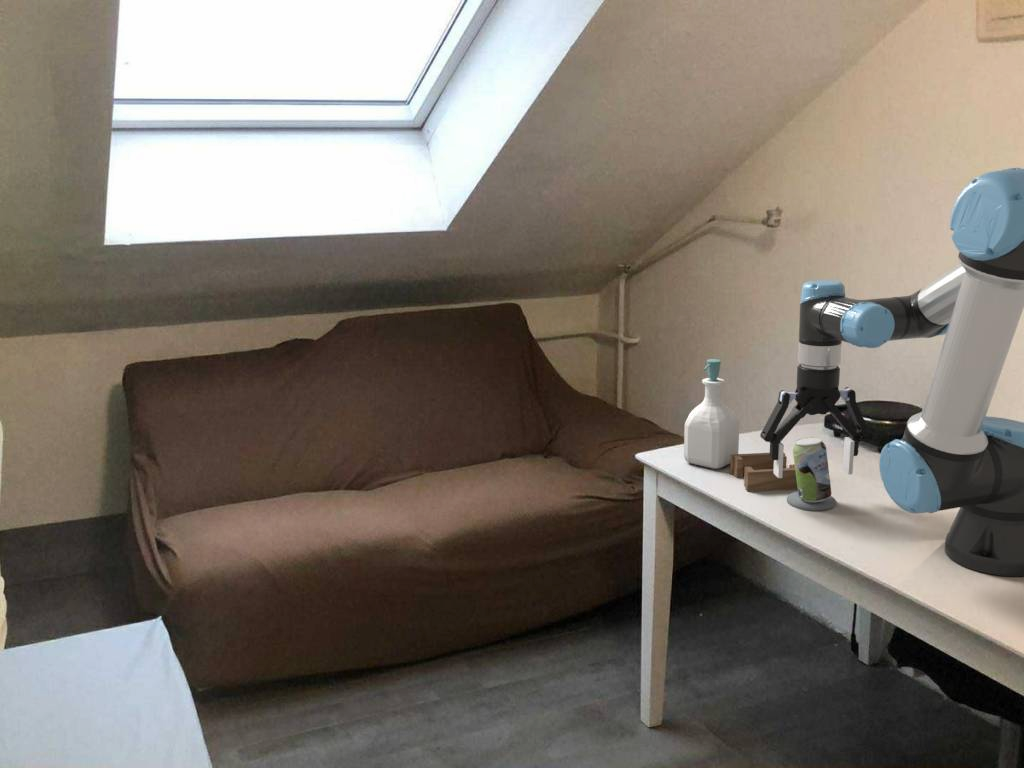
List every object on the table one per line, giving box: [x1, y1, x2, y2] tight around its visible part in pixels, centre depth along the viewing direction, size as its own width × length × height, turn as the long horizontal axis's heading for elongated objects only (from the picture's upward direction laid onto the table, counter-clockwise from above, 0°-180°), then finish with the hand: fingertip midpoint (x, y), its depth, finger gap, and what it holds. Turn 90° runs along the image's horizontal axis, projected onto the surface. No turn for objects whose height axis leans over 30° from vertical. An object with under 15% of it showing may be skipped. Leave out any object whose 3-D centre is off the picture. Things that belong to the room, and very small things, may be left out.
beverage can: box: [792, 436, 832, 502], centre depth 182 cm, size 6×7×12 cm
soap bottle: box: [683, 358, 740, 470], centre depth 205 cm, size 10×10×23 cm
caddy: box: [729, 452, 798, 492], centre depth 195 cm, size 11×11×4 cm
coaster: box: [786, 491, 837, 512], centre depth 184 cm, size 9×9×1 cm
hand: (812, 474), depth 182 cm, fingers open, 13 cm apart
